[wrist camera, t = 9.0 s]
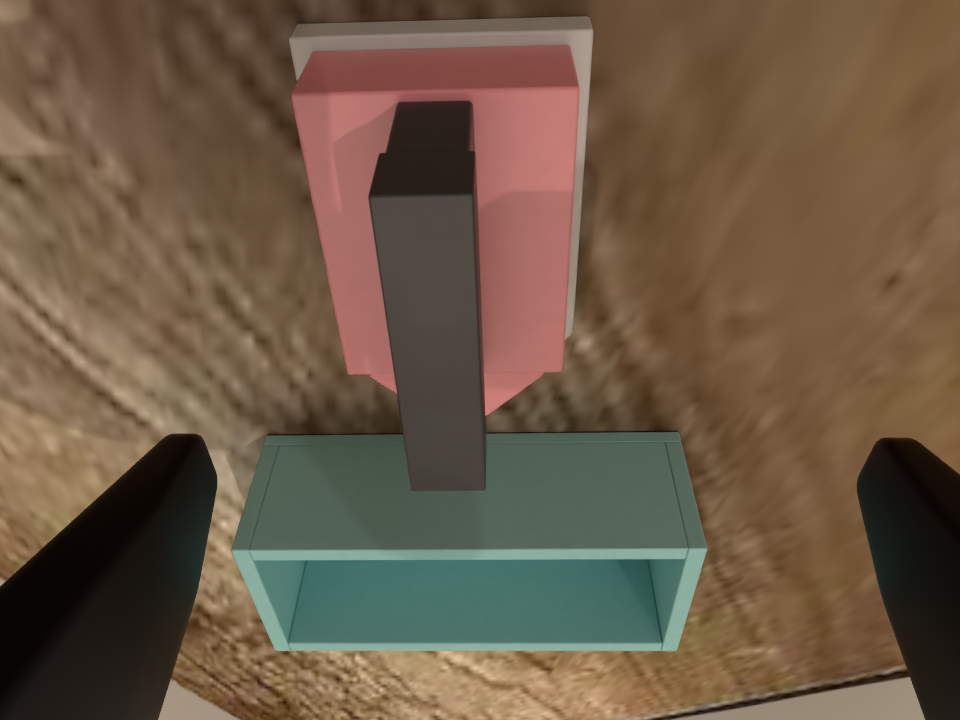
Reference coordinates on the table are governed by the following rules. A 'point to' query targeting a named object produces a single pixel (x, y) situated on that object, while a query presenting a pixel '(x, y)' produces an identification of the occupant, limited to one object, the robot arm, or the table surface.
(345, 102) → the iron
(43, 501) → the table surface
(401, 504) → the teal open box
